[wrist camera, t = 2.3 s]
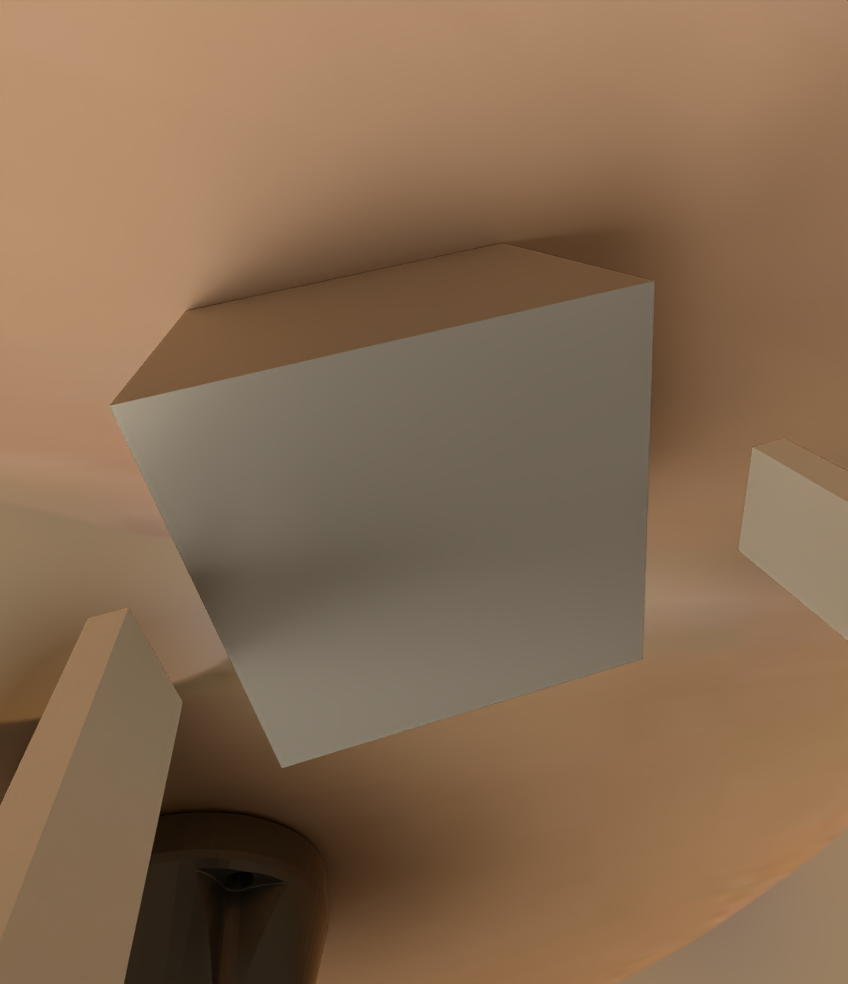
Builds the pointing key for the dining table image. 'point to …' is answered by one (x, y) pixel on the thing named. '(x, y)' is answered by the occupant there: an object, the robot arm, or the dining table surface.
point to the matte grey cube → (408, 485)
